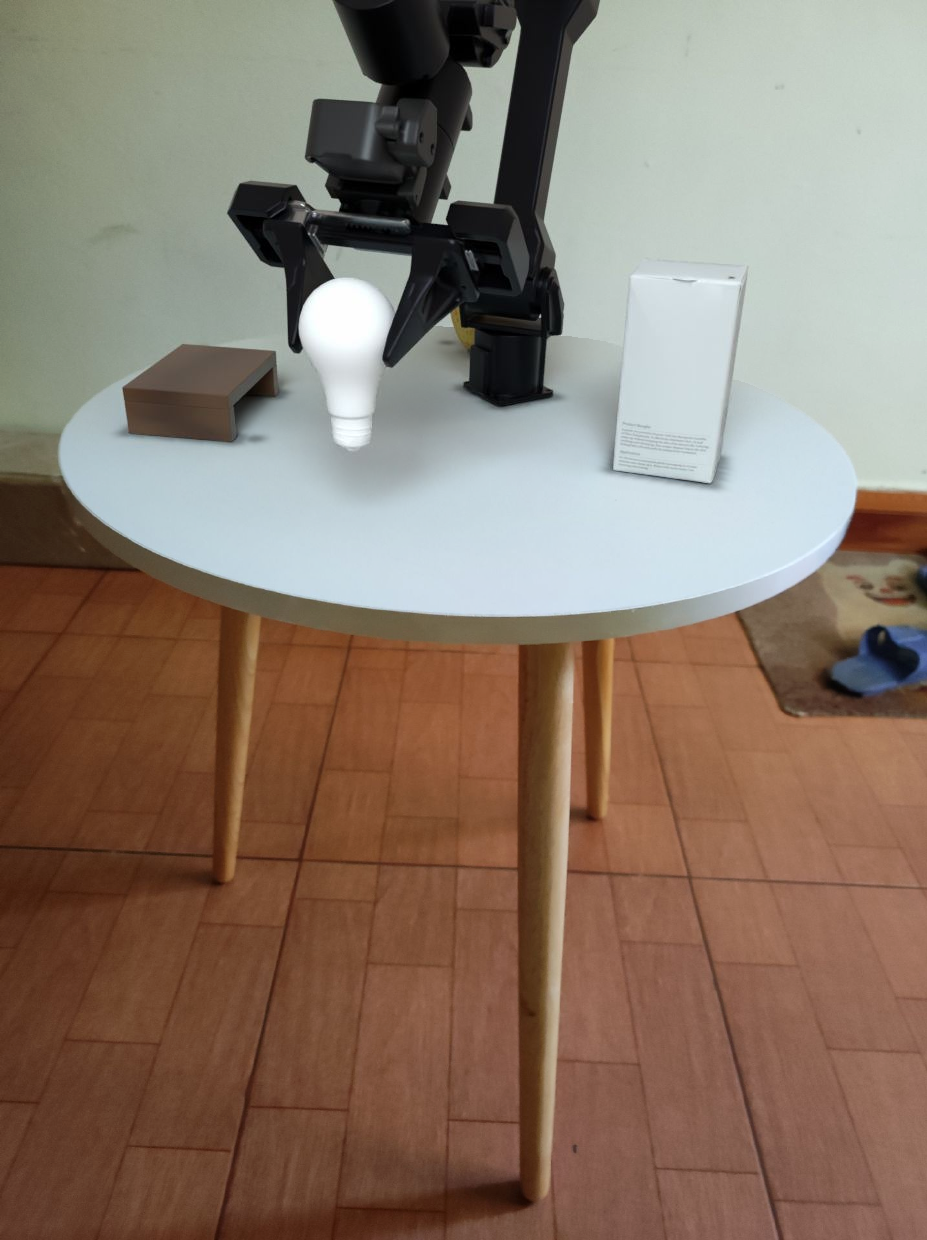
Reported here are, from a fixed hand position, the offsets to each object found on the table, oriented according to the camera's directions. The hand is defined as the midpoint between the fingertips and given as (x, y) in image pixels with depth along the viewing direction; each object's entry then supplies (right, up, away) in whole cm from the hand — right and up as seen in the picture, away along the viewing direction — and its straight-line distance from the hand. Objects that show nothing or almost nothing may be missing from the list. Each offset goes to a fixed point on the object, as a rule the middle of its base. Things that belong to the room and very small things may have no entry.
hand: (339, 356), depth 61 cm
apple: (+10, +12, +46) cm, 49 cm away
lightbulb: (0, -5, +5) cm, 7 cm away
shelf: (-15, +2, +27) cm, 31 cm away
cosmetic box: (+24, -4, +20) cm, 32 cm away
